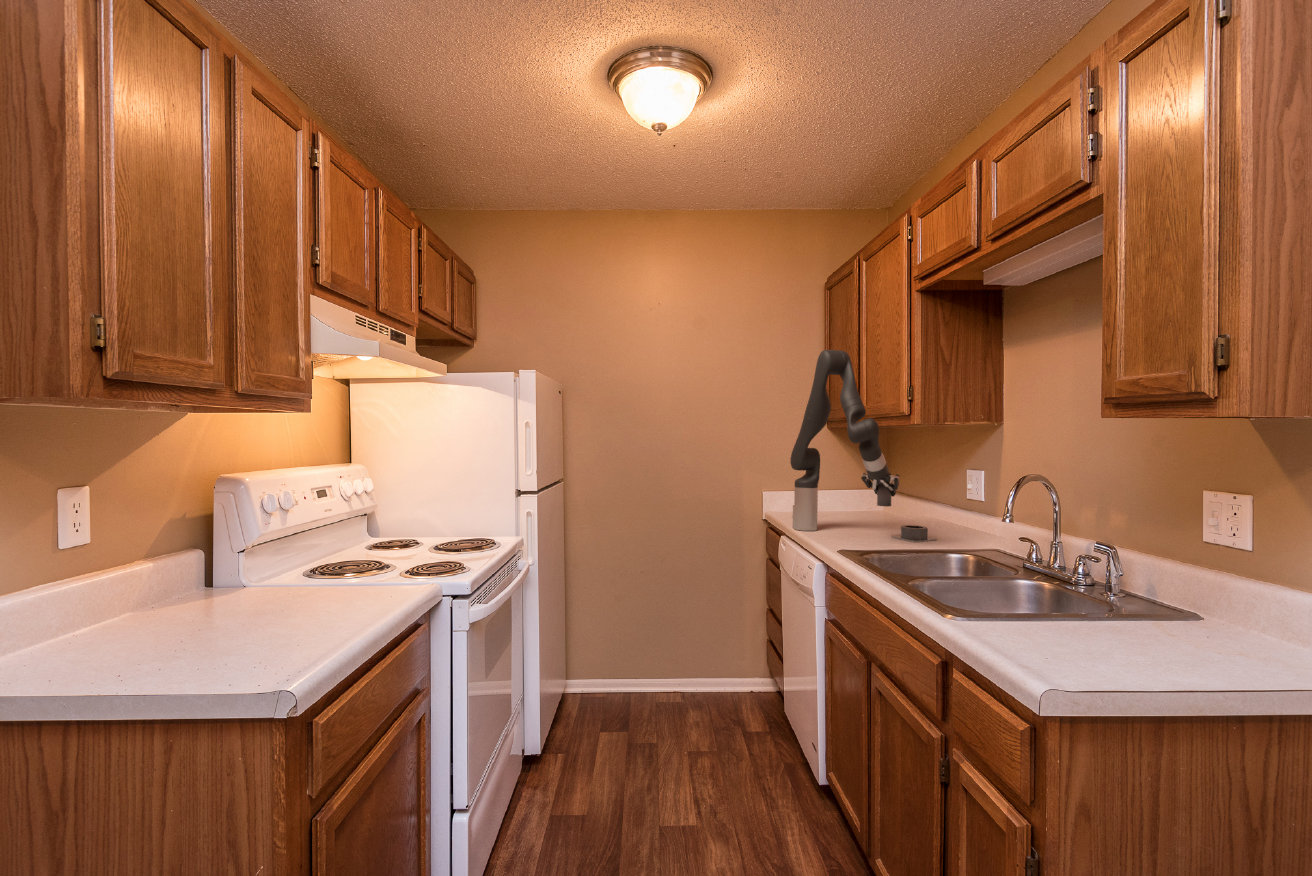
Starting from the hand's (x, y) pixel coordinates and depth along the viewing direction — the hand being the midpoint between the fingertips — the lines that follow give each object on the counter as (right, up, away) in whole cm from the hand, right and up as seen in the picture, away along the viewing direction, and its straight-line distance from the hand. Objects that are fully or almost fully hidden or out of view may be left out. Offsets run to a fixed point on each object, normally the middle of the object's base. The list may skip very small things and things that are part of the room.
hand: (886, 494), depth 236 cm
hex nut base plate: (+9, -16, -4) cm, 19 cm away
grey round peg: (-1, -4, -1) cm, 5 cm away
